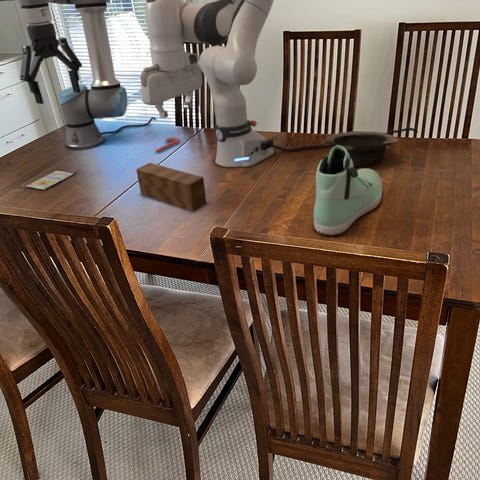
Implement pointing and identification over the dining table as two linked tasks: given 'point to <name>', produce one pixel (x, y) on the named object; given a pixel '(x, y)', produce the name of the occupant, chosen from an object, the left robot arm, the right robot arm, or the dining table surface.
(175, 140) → the candy cane
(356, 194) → the sneaker
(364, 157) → the dark brown hat
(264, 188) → the dining table surface
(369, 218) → the dining table surface
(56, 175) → the baking ingredient package
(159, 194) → the bar
